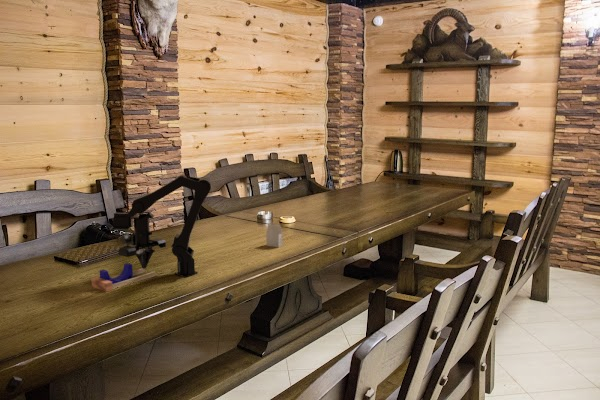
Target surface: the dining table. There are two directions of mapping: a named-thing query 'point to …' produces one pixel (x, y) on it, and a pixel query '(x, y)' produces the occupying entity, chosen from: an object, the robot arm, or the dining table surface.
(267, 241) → the grey upright block
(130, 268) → the blue cradle block
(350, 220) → the dining table surface
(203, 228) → the dining table surface
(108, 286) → the guide track
